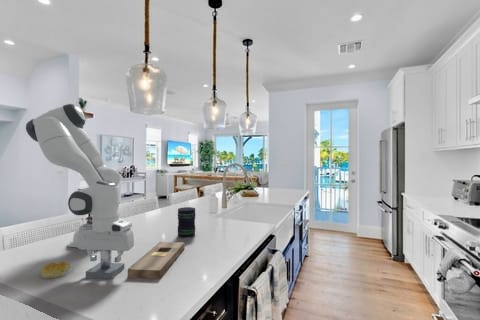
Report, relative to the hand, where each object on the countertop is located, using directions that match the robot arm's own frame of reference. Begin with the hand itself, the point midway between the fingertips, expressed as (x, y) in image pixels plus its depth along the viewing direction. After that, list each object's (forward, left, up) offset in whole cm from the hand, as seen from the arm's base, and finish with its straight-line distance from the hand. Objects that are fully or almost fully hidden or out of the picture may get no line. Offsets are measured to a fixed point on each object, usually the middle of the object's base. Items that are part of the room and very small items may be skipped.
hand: (105, 261), depth 92 cm
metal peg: (0, 0, -2) cm, 2 cm away
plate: (0, 0, -4) cm, 4 cm away
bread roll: (-18, -2, -5) cm, 19 cm away
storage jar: (+17, +48, -4) cm, 51 cm away
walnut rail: (+16, +12, -4) cm, 21 cm away
